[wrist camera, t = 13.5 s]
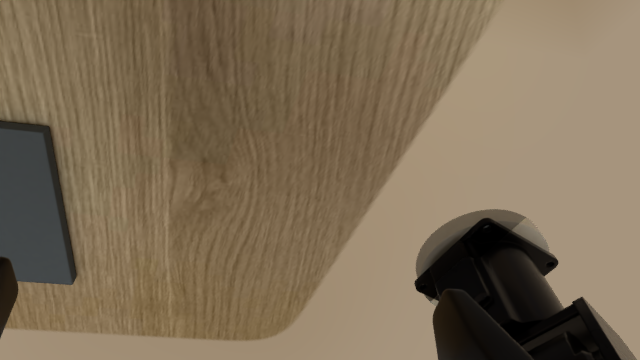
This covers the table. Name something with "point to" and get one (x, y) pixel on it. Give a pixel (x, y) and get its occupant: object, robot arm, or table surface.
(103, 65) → the table surface
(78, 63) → the table surface
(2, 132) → the mat
